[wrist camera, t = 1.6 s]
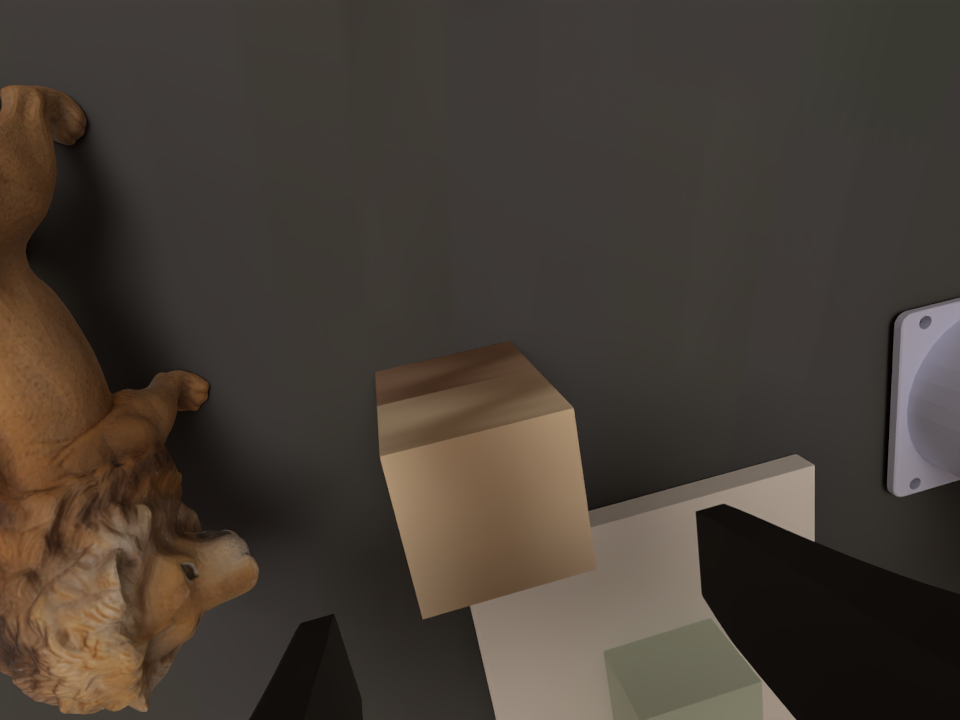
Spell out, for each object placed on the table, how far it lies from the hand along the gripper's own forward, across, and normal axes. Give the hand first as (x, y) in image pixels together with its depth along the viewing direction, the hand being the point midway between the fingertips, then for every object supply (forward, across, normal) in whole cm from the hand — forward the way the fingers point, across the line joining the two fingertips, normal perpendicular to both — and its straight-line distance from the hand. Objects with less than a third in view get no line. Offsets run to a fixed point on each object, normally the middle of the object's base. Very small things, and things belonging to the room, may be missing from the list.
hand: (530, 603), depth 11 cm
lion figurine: (+10, +9, -6) cm, 14 cm away
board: (+9, -6, +13) cm, 17 cm away
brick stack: (+10, 0, 0) cm, 10 cm away
